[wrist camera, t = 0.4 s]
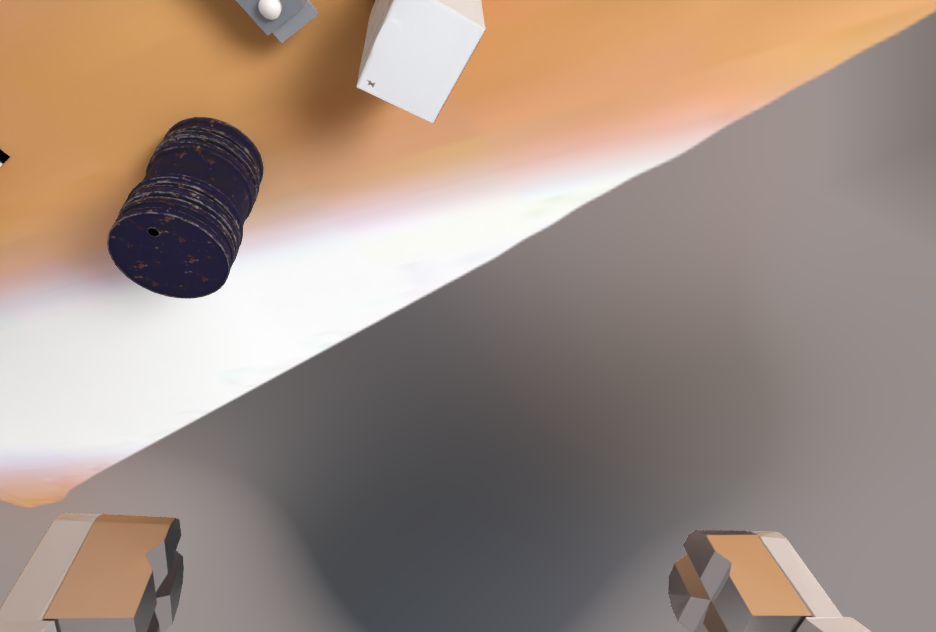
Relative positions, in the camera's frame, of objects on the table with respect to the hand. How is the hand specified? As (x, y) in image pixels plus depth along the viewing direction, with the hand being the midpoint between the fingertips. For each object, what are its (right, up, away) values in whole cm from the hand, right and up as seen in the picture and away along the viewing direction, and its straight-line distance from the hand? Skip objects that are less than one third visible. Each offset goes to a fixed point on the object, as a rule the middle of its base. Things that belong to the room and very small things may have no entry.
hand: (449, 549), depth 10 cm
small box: (-4, +31, +41) cm, 51 cm away
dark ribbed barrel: (-25, +20, +52) cm, 61 cm away
